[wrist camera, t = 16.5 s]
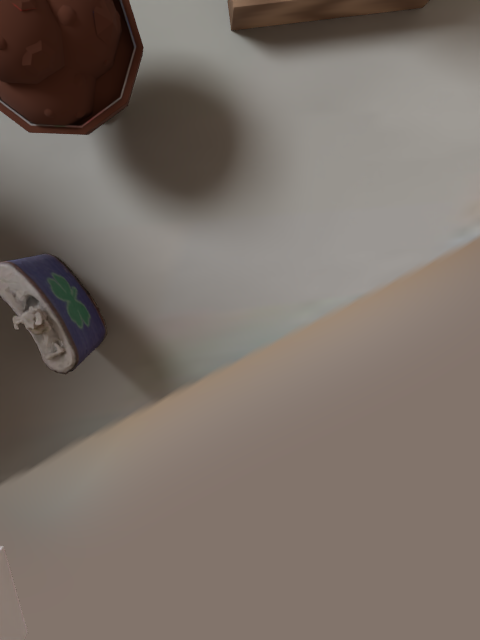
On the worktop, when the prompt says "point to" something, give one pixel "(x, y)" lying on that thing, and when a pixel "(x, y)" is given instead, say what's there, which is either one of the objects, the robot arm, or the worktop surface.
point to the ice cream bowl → (67, 62)
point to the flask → (52, 309)
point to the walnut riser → (307, 10)
